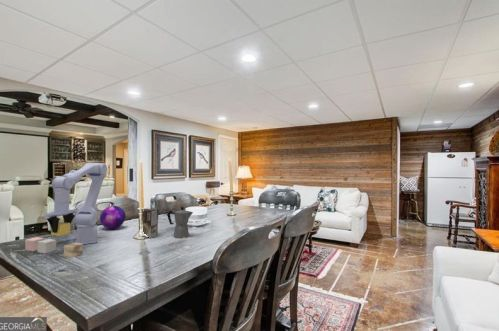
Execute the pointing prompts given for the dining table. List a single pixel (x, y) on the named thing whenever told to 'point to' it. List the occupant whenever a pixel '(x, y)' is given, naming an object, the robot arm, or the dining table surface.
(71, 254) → the maple block
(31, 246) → the pink block
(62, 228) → the mustard block
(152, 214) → the coffee box
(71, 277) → the dining table surface
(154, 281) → the dining table surface
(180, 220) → the coffeepot
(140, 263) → the dining table surface
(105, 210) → the decorative orb
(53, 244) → the grey block
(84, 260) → the dining table surface
